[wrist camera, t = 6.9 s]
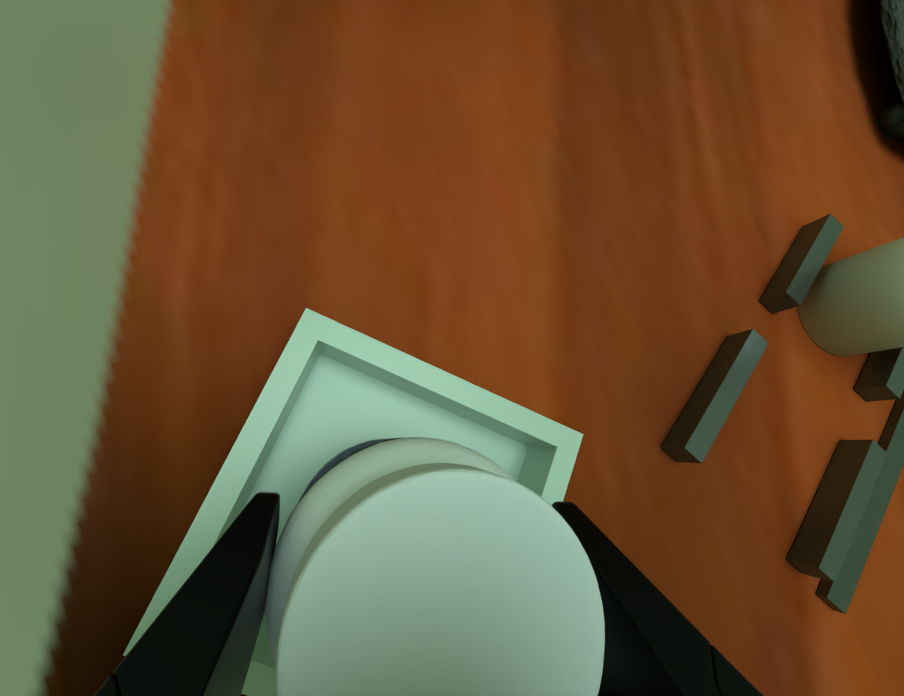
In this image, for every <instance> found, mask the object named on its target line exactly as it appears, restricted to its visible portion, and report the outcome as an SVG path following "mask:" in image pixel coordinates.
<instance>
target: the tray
mask: <svg viewBox="0 0 904 696" xmlns="http://www.w3.org/2000/svg"><path fill="white" fill-rule="evenodd" d="M404 437H425V438H434V439H440V440H446V441H450V442H453V443H457V444H460V445H462V446H465V447H467V448H470V449H472V450H474V451H476V452H478V453H480V454H482V455H484V456H485V457H487V458H489V459H490V460H492V461H493V462H495V463H496V464H498V465H499V466H500V467H501V468H502V469H504V470H505V471H506V472H507V473H508V474H509V475H510V476H511V477H512V478H513V479H514V480H515V481H516V482H518V483H520V484H522V485H524V486H525V487H527V488H529V489H530V490H532V491H533V492H535V493H536V494H538V495H539V496H540V497H542V498H543V499H544V500H546V501H547V502H548V503H549V504H550V505H551V506H552V504H553V503H554V502H556V501H563V499H564V496H565V492H566V489H567V486H568V483H569V479H570V476H571V473H572V470H573V466H574V463H575V460H576V457H577V453H578V450H579V447H580V444H581V440H582V437H583V434H581V433H579V432H577V431H575V430H572V429H570V428H568V427H566V426H564V425H561V424H559V423H557V422H555V421H553V420H550V419H548V418H546V417H544V416H542V415H540V414H537V413H535V412H533V411H531V410H529V409H526V408H524V407H522V406H520V405H518V404H515V403H513V402H511V401H509V400H507V399H504V398H502V397H500V396H498V395H496V394H493V393H491V392H489V391H487V390H485V389H483V388H480V387H478V386H476V385H474V384H472V383H469V382H467V381H465V380H463V379H461V378H458V377H456V376H454V375H452V374H450V373H447V372H445V371H443V370H441V369H439V368H436V367H434V366H432V365H430V364H428V363H426V362H423V361H421V360H419V359H417V358H415V357H412V356H410V355H408V354H406V353H404V352H401V351H399V350H397V349H395V348H393V347H390V346H388V345H386V344H384V343H382V342H379V341H377V340H375V339H373V338H371V337H369V336H366V335H364V334H362V333H360V332H358V331H355V330H353V329H351V328H349V327H347V326H344V325H342V324H340V323H338V322H336V321H333V320H331V319H329V318H327V317H325V316H322V315H320V314H318V313H316V312H314V311H312V310H309V309H307V308H306V309H305V311H304V313H303V315H302V317H301V319H300V321H299V323H298V324H297V326H296V328H295V330H294V332H293V334H292V336H291V338H290V340H289V341H288V343H287V345H286V347H285V349H284V351H283V353H282V355H281V357H280V359H279V360H278V362H277V364H276V366H275V368H274V370H273V372H272V374H271V376H270V377H269V379H268V381H267V383H266V385H265V387H264V389H263V391H262V393H261V394H260V396H259V398H258V400H257V402H256V404H255V406H254V408H253V410H252V411H251V413H250V415H249V417H248V419H247V421H246V423H245V425H244V427H243V429H242V430H241V432H240V434H239V436H238V438H237V440H236V442H235V444H234V446H233V447H232V449H231V451H230V453H229V455H228V457H227V459H226V461H225V463H224V464H223V466H222V468H221V470H220V472H219V474H218V476H217V478H216V480H215V481H214V483H213V485H212V487H211V489H210V491H209V493H208V495H207V497H206V499H205V500H204V502H203V504H202V506H201V508H200V510H199V512H198V514H197V516H196V517H195V519H194V521H193V523H192V525H191V527H190V529H189V531H188V533H187V534H186V536H185V538H184V540H183V542H182V544H181V546H180V548H179V550H178V551H177V553H176V555H175V557H174V559H173V561H172V563H171V565H170V567H169V569H168V570H167V572H166V574H165V576H164V578H163V580H162V582H161V584H160V586H159V587H158V589H157V591H156V593H155V595H154V597H153V599H152V601H151V603H150V604H149V606H148V608H147V610H146V612H145V614H144V616H143V618H142V620H141V621H140V623H139V625H138V627H137V629H136V631H135V633H134V635H133V637H132V639H131V640H130V642H129V644H128V646H127V648H126V650H125V652H124V654H123V656H126V655H127V654H128V653H129V651H130V650H131V649H132V648H133V646H134V645H135V644H136V643H137V641H138V640H139V639H140V638H141V636H142V635H143V634H144V633H145V631H146V630H147V629H148V628H149V626H150V625H151V624H152V623H153V621H154V620H155V619H156V618H157V616H158V615H159V614H160V613H161V611H162V610H163V609H164V608H165V606H166V605H167V604H168V603H169V601H170V600H171V599H172V598H173V596H174V595H175V594H176V593H177V591H178V590H179V589H180V588H181V586H182V585H183V584H184V583H185V581H186V580H187V579H188V578H189V576H190V575H191V574H192V573H193V571H194V570H195V569H196V568H197V566H198V565H199V564H200V563H201V561H202V560H203V559H204V558H205V556H206V555H207V554H208V553H209V551H210V550H211V549H212V548H213V546H214V545H215V544H216V543H217V541H218V540H219V539H220V538H221V536H222V535H223V534H224V533H225V531H226V530H227V529H228V528H229V526H230V525H231V524H232V523H233V521H234V520H235V519H236V518H237V516H238V515H239V514H240V513H241V511H242V510H243V509H244V508H245V506H246V505H247V504H248V503H249V501H250V500H251V499H252V498H253V496H254V495H255V494H256V493H258V492H276V493H279V495H280V514H279V528H278V535H277V541H276V545H277V543H278V540H279V537H280V535H281V533H282V531H283V528H284V526H285V524H286V522H287V520H288V518H289V516H290V515H291V513H292V511H293V510H294V508H295V507H296V505H297V503H298V502H299V500H300V498H301V496H302V494H303V493H304V491H305V489H306V487H307V486H308V484H309V483H310V481H311V480H312V479H313V477H314V476H315V475H316V474H317V472H318V471H319V470H320V469H321V468H322V467H323V466H324V465H325V464H326V463H327V462H328V461H330V460H331V459H332V458H333V457H335V456H336V455H338V454H339V453H340V452H342V451H344V450H346V449H348V448H350V447H352V446H355V445H357V444H360V443H363V442H367V441H371V440H377V439H391V438H404ZM275 548H276V547H275ZM275 668H276V667H275V664H274V661H273V658H272V655H271V652H270V647H269V643H268V638H267V631H266V622H265V611H264V615H263V619H262V623H261V627H260V630H259V634H258V637H257V641H256V644H255V648H254V651H253V655H252V658H251V662H250V665H249V669H248V672H247V676H246V679H245V683H244V686H243V690H242V693H241V694H244V695H247V696H276V670H275Z"/></svg>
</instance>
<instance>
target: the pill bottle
mask: <svg viewBox="0 0 904 696" xmlns="http://www.w3.org/2000/svg"><path fill="white" fill-rule="evenodd" d="M265 622H266V631H267V638H268V643H269V647H270V652H271V655H272V658H273V661H274V664H275V667H276V668H275V670H276V696H598V693H599V689H600V683H601V677H602V671H603V660H604V646H605V622H604V613H603V605H602V600H601V596H600V591H599V587H598V582H597V579H596V576H595V573H594V570H593V568H592V565H591V563H590V560H589V558H588V556H587V554H586V552H585V550H584V548H583V546H582V545H581V543H580V541H579V539H578V537H577V536H576V535H575V533H574V532H573V530H572V529H571V527H570V526H569V525H568V523H567V522H566V521H565V520H564V519H563V518H562V516H561V515H560V514H559V513H558V512H557V511H556V510H555V509H554V508H553V507H552V506H551V505H550V504H549V503H548V502H547V501H546V500H544V499H543V498H542V497H540V496H539V495H538V494H536V493H535V492H533V491H532V490H530V489H529V488H527V487H525V486H524V485H522V484H520V483H518V482H516V481H515V480H514V479H513V478H512V477H511V476H510V475H509V474H508V473H507V472H506V471H505V470H504V469H502V468H501V467H500V466H499V465H498V464H496V463H495V462H493V461H492V460H490V459H489V458H487V457H485V456H484V455H482V454H480V453H478V452H476V451H474V450H472V449H470V448H467V447H465V446H462V445H460V444H457V443H453V442H450V441H446V440H440V439H434V438H425V437H404V438H391V439H377V440H371V441H367V442H363V443H360V444H357V445H355V446H352V447H350V448H348V449H346V450H344V451H342V452H340V453H339V454H338V455H336V456H335V457H333V458H332V459H331V460H330V461H328V462H327V463H326V464H325V465H324V466H323V467H322V468H321V469H320V470H319V471H318V472H317V474H316V475H315V476H314V477H313V479H312V480H311V481H310V483H309V484H308V486H307V487H306V489H305V491H304V493H303V494H302V496H301V498H300V500H299V502H298V503H297V505H296V507H295V508H294V510H293V511H292V513H291V515H290V516H289V518H288V520H287V522H286V524H285V526H284V528H283V531H282V533H281V535H280V537H279V540H278V543H277V545H276V548H275V551H274V555H273V558H272V563H271V568H270V575H269V582H268V589H267V597H266V605H265Z"/></svg>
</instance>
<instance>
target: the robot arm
mask: <svg viewBox="0 0 904 696" xmlns="http://www.w3.org/2000/svg"><path fill="white" fill-rule="evenodd" d="M552 507H553V508H554V509H555V510H556V511H557V512H558V513H559V514H560V515H561V516H562V518H563V519H564V520H565V521H566V522H567V523H568V525H569V526H570V527H571V529H572V530H573V532H574V533H575V535H576V536H577V537H578V539H579V541H580V543H581V545H582V546H583V548H584V550H585V552H586V554H587V556H588V558H589V560H590V563H591V565H592V568H593V570H594V573H595V576H596V579H597V582H598V587H599V591H600V596H601V600H602V605H603V613H604V622H605V646H604V660H603V671H602V677H601V683H600V689H599V693H598V696H763V695H762V694H761V693H760V692H759V691H758V690H757V689H756V688H755V687H754V686H753V685H752V684H751V683H750V682H749V681H748V680H747V679H746V678H745V677H744V676H743V675H742V674H741V673H740V672H739V671H738V670H737V669H736V668H735V667H734V666H733V665H732V664H731V663H730V662H729V661H728V660H727V659H726V658H725V657H724V656H723V655H722V654H721V653H720V652H719V651H718V650H717V649H716V648H715V647H714V646H713V645H710V643H709V641H708V640H707V639H706V638H705V637H704V636H703V635H702V634H701V633H700V632H699V631H698V630H697V629H696V628H695V627H694V626H693V625H692V624H691V623H690V622H689V621H688V620H687V619H686V618H685V616H684V615H683V614H682V613H681V612H680V611H679V610H678V609H677V608H676V607H675V606H674V605H673V604H672V603H671V602H670V601H669V600H668V599H667V598H666V597H665V596H664V595H663V594H662V593H661V592H660V591H659V590H658V589H657V588H656V587H655V586H654V585H653V584H652V583H651V582H650V581H649V580H648V579H647V578H646V577H645V576H644V575H643V573H642V572H641V571H640V570H639V569H638V568H637V567H636V566H635V565H634V564H633V563H632V562H631V561H630V560H629V559H628V558H627V557H626V556H625V555H624V554H623V553H622V552H621V551H620V550H619V549H618V548H617V547H616V546H615V545H614V544H613V543H612V542H611V541H610V540H609V539H608V538H607V537H606V536H605V535H604V534H603V533H602V532H601V530H600V529H599V528H598V527H597V526H596V525H595V524H594V523H593V522H592V521H591V520H590V519H589V518H588V517H587V516H586V515H585V514H584V513H583V512H582V511H581V510H580V509H579V508H578V507H577V506H576V505H575V504H574V503H572V502H563V501H556V502H554V503H553V504H552ZM279 514H280V495H279V493H276V492H258V493H256V494H255V495H254V496H253V498H252V499H251V500H250V501H249V503H248V504H247V505H246V506H245V508H244V509H243V510H242V511H241V513H240V514H239V515H238V516H237V518H236V519H235V520H234V521H233V523H232V524H231V525H230V526H229V528H228V529H227V530H226V531H225V533H224V534H223V535H222V536H221V538H220V539H219V540H218V541H217V543H216V544H215V545H214V546H213V548H212V549H211V550H210V551H209V553H208V554H207V555H206V556H205V558H204V559H203V560H202V561H201V563H200V564H199V565H198V566H197V568H196V569H195V570H194V571H193V573H192V574H191V575H190V576H189V578H188V579H187V580H186V581H185V583H184V584H183V585H182V586H181V588H180V589H179V590H178V591H177V593H176V594H175V595H174V596H173V598H172V599H171V600H170V601H169V603H168V604H167V605H166V606H165V608H164V609H163V610H162V611H161V613H160V614H159V615H158V616H157V618H156V619H155V620H154V621H153V623H152V624H151V625H150V626H149V628H148V629H147V630H146V631H145V633H144V634H143V635H142V636H141V638H140V639H139V640H138V641H137V643H136V644H135V645H134V646H133V648H132V649H131V650H130V651H129V653H128V654H127V655H126V656H125V658H124V659H123V660H122V661H121V663H120V664H119V665H118V666H117V668H116V669H115V671H114V673H115V675H110V676H109V677H108V678H107V680H106V681H105V682H104V683H103V685H102V686H101V687H100V688H99V690H98V691H97V692H96V693H95V695H94V696H241V693H242V690H243V686H244V683H245V679H246V676H247V672H248V669H249V665H250V662H251V658H252V655H253V651H254V648H255V644H256V641H257V637H258V634H259V630H260V627H261V623H262V619H263V615H264V611H265V605H266V597H267V589H268V582H269V575H270V568H271V563H272V558H273V555H274V551H275V547H276V541H277V535H278V528H279Z"/></svg>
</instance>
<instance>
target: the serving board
mask: <svg viewBox="0 0 904 696" xmlns="http://www.w3.org/2000/svg"><path fill="white" fill-rule="evenodd" d="M879 2H880V7H881V11H880V18H881V22H882V25H883V30H884V36H885V40H886V43H887V46H888V52H889V58H890V61H891V65H892V68H893V74H894V80H895V82H896V84H897V87H898V89H899V92H900V95H901V98H902V101H903V102H900V103H896V104H894V105H892V106H890V107H888V108H886V109H885V110H884V111H882V113H881V114H880V115H879V116H878V119H877V123H878V127H879V129H880V131H881V132H882V133H883V134H884V136H886V137H887V138H889V139H899V138H902V137H904V0H879Z"/></svg>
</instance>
